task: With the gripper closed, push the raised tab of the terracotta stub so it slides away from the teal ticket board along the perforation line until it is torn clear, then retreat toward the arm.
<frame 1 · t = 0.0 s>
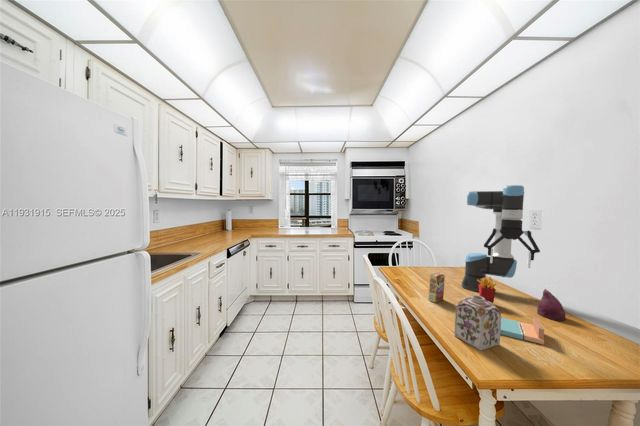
hand: (509, 264, 111), 28 cm above the table, fingers open, 13 cm apart
french fries: (483, 303, 136), on the table
ticket: (503, 328, 108), on the table
decorative jar: (476, 341, 98), on the table
candy box: (436, 300, 139), on the table
vegetable: (550, 316, 121), on the table
stub: (531, 327, 103), point 3 cm above the table, slide at 0.0 cm
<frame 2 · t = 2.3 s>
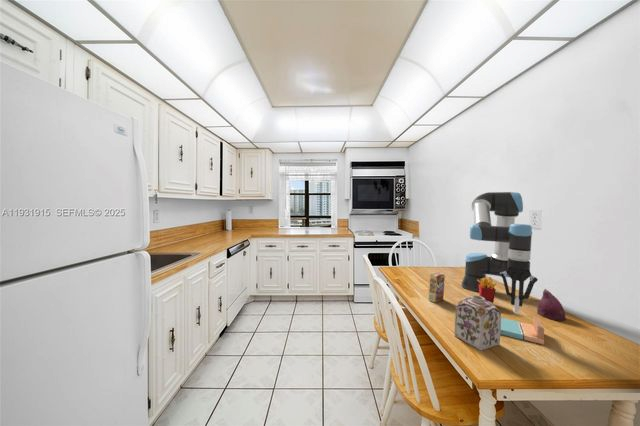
hand: (516, 312, 105), 8 cm above the table, fingers closed
nothing on the table moved.
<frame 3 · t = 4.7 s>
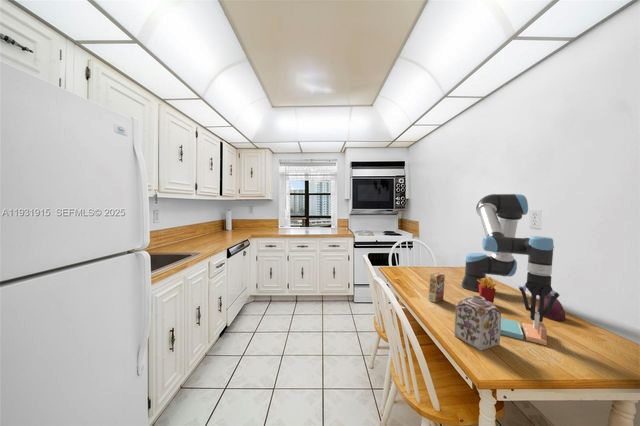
hand: (535, 328, 102), 4 cm above the table, fingers closed
stub: (533, 328, 102), point 3 cm above the table, slide at 0.8 cm, touching gripper
everything else where it was.
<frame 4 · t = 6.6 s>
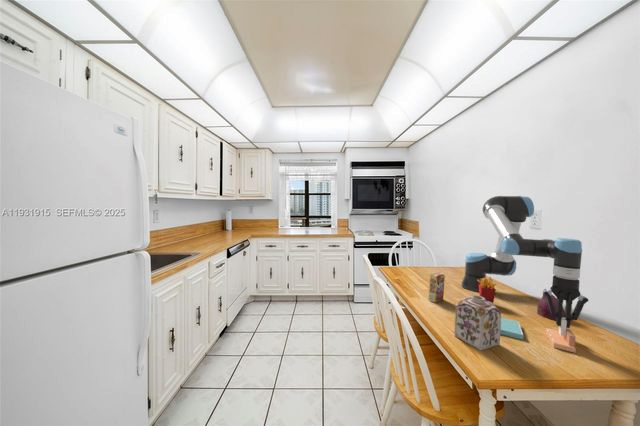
hand: (562, 334, 97), 3 cm above the table, fingers closed
stub: (559, 334, 98), point 3 cm above the table, slide at 8.8 cm, touching gripper
everything else where it was.
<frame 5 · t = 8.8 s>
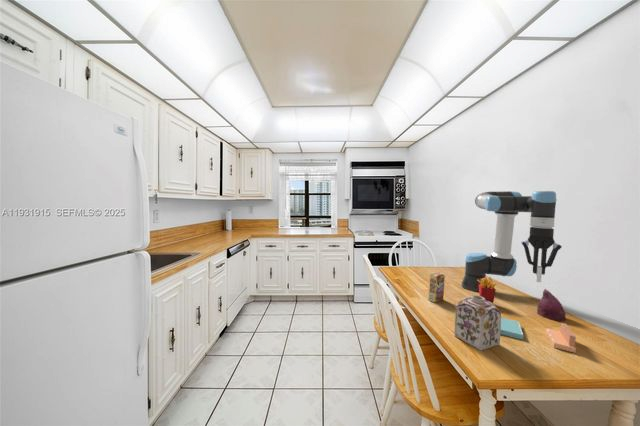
hand: (538, 281, 104), 23 cm above the table, fingers closed
stub: (559, 334, 98), point 3 cm above the table, slide at 8.8 cm
everything else where it was.
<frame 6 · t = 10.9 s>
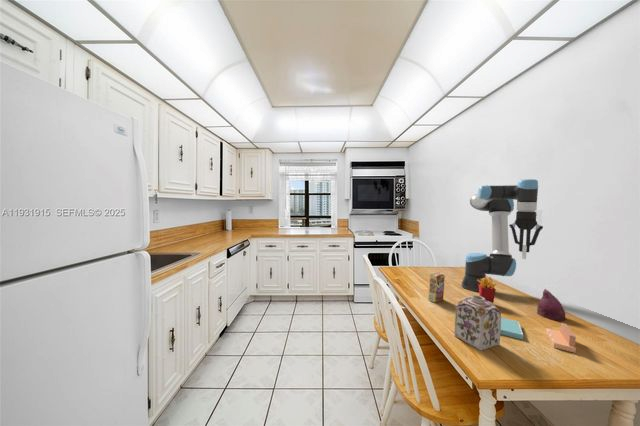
hand: (523, 258, 119), 29 cm above the table, fingers closed
nothing on the table moved.
at the end: stub slide at 8.8 cm; stub touching nothing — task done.
